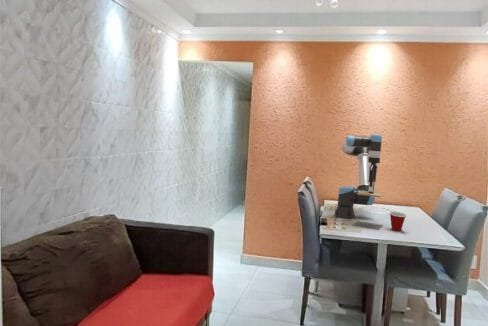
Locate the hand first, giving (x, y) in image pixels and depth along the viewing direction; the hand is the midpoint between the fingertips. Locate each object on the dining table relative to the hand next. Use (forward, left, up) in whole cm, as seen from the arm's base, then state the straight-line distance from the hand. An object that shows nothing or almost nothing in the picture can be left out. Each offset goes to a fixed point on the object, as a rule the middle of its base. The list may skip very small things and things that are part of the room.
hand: (371, 191), depth 290 cm
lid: (0, 0, -2) cm, 2 cm away
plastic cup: (0, +19, -25) cm, 31 cm away
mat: (0, 0, -25) cm, 25 cm away
